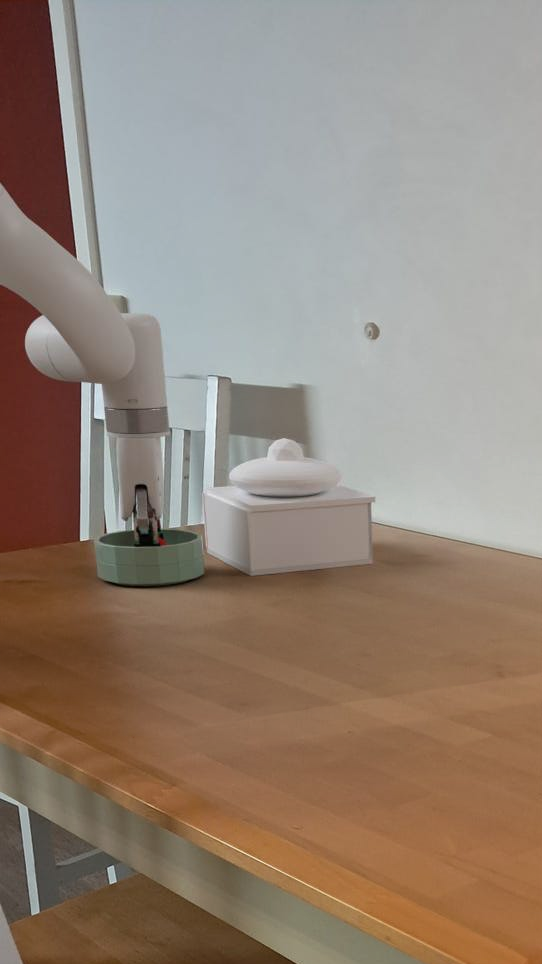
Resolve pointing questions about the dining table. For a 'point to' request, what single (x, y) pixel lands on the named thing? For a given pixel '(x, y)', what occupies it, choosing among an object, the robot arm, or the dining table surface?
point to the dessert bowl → (149, 558)
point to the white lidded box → (287, 516)
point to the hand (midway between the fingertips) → (151, 568)
